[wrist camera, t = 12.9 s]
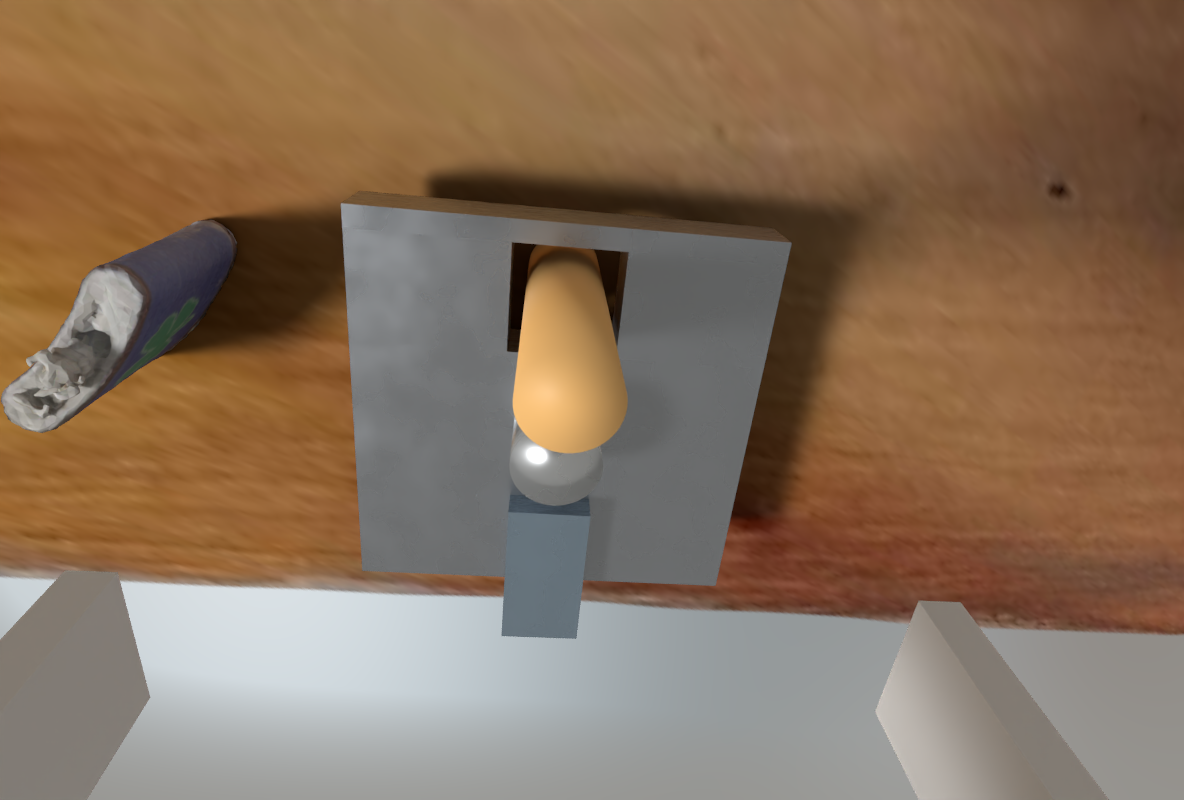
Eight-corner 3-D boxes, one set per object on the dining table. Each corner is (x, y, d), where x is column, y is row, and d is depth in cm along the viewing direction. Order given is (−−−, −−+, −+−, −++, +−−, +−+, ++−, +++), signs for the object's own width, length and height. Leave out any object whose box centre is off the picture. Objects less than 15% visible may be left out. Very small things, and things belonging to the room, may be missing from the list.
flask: (204, 207, 34) (67, 266, 24) (257, 248, 35) (145, 320, 25) (110, 336, 37) (-48, 435, 27) (161, 370, 38) (28, 478, 28)
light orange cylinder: (530, 229, 35) (515, 345, 21) (601, 235, 35) (634, 354, 21) (526, 297, 37) (510, 450, 22) (594, 302, 37) (620, 456, 23)
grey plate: (374, 180, 34) (310, 224, 25) (755, 214, 35) (824, 267, 26) (388, 541, 43) (345, 668, 34) (688, 555, 45) (722, 679, 36)
